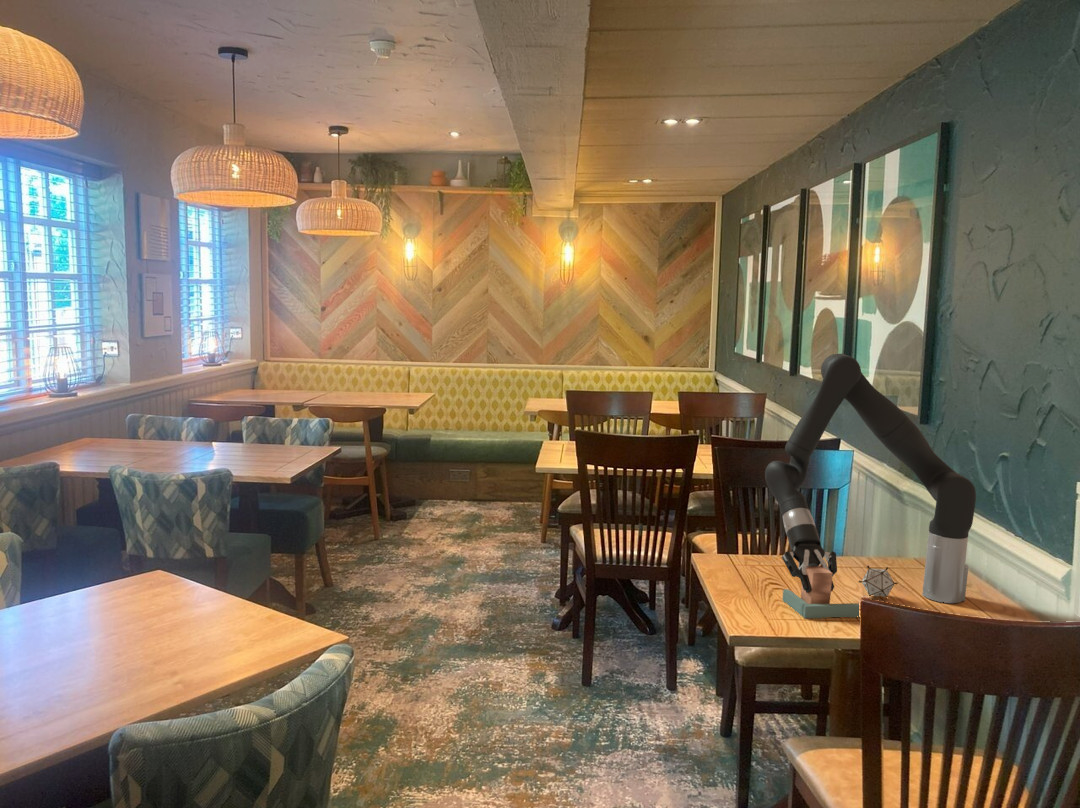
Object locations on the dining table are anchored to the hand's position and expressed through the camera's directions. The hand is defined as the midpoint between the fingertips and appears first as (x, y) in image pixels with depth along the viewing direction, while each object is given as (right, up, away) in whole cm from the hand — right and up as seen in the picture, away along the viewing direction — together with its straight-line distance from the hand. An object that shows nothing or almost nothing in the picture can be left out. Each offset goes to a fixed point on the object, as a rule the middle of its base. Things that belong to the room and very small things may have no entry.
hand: (819, 591), depth 194 cm
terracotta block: (0, -4, +2) cm, 5 cm away
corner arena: (+2, -5, +3) cm, 6 cm away
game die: (+20, -5, +14) cm, 24 cm away
